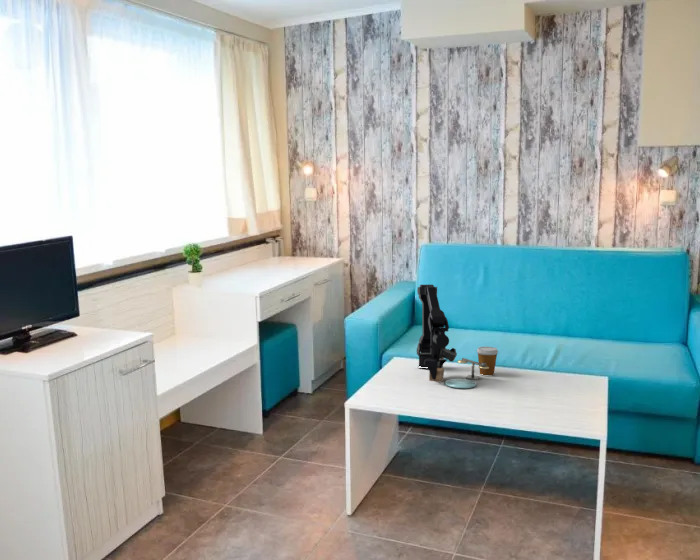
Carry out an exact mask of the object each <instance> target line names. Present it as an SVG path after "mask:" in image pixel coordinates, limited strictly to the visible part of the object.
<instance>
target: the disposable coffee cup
mask: <svg viewBox="0 0 700 560" xmlns="http://www.w3.org/2000/svg"><path fill="white" fill-rule="evenodd" d="M476 353H477V357H478V363H481V364H482V363H486V366H488V367H489V368H488V369H480V368H479V366H480V365H478V369H479V375H480V374H483V375H492V376H494V375H495V369H496V363H497V358H498V357H497V356H498V354H499V350H498V348H497V347H493V346H479V347H477V350H476ZM493 374H494V375H493ZM483 375H482V376H483Z"/></svg>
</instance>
